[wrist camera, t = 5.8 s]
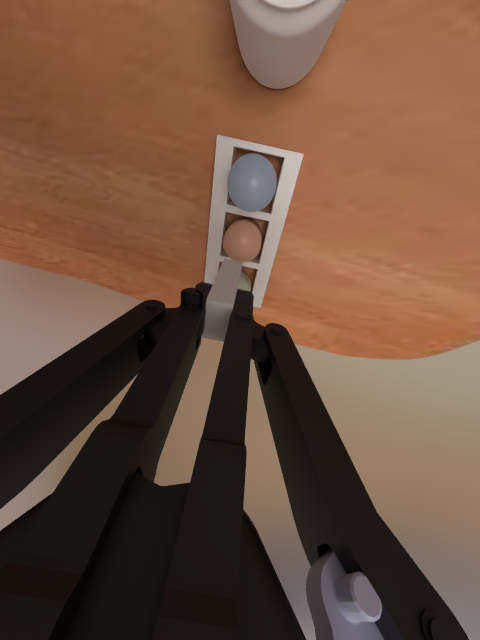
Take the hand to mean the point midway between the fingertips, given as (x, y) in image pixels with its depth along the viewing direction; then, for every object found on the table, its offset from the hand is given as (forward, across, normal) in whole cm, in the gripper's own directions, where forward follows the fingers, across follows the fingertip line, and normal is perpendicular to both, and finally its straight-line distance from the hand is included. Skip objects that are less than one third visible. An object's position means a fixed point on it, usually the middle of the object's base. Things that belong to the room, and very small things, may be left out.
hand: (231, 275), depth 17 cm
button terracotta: (+14, 0, 0) cm, 14 cm away
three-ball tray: (+14, 0, 0) cm, 14 cm away
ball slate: (+11, 0, +6) cm, 13 cm away
